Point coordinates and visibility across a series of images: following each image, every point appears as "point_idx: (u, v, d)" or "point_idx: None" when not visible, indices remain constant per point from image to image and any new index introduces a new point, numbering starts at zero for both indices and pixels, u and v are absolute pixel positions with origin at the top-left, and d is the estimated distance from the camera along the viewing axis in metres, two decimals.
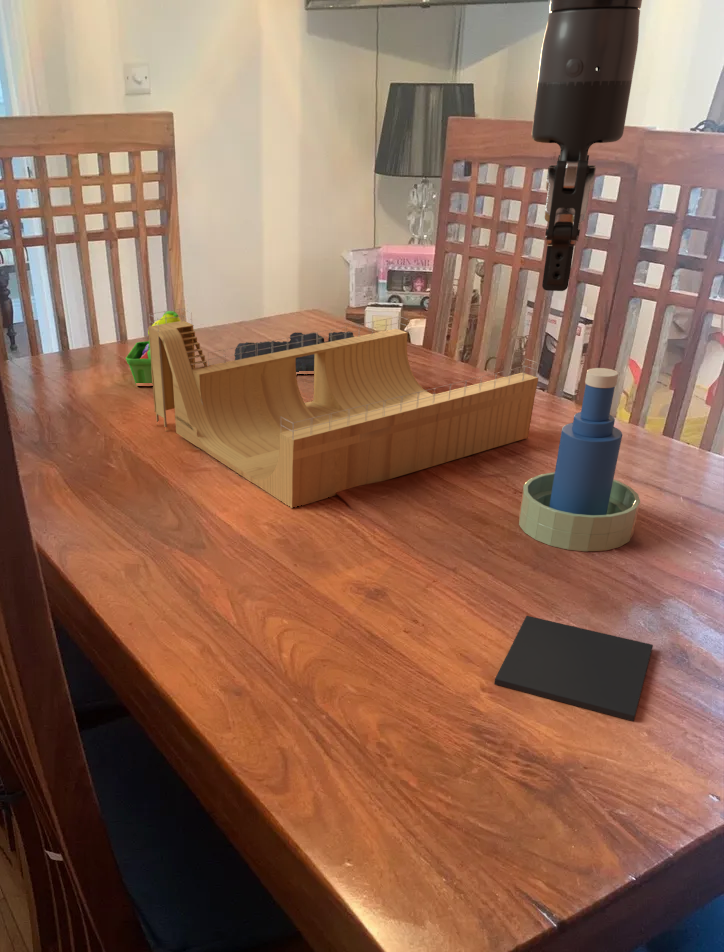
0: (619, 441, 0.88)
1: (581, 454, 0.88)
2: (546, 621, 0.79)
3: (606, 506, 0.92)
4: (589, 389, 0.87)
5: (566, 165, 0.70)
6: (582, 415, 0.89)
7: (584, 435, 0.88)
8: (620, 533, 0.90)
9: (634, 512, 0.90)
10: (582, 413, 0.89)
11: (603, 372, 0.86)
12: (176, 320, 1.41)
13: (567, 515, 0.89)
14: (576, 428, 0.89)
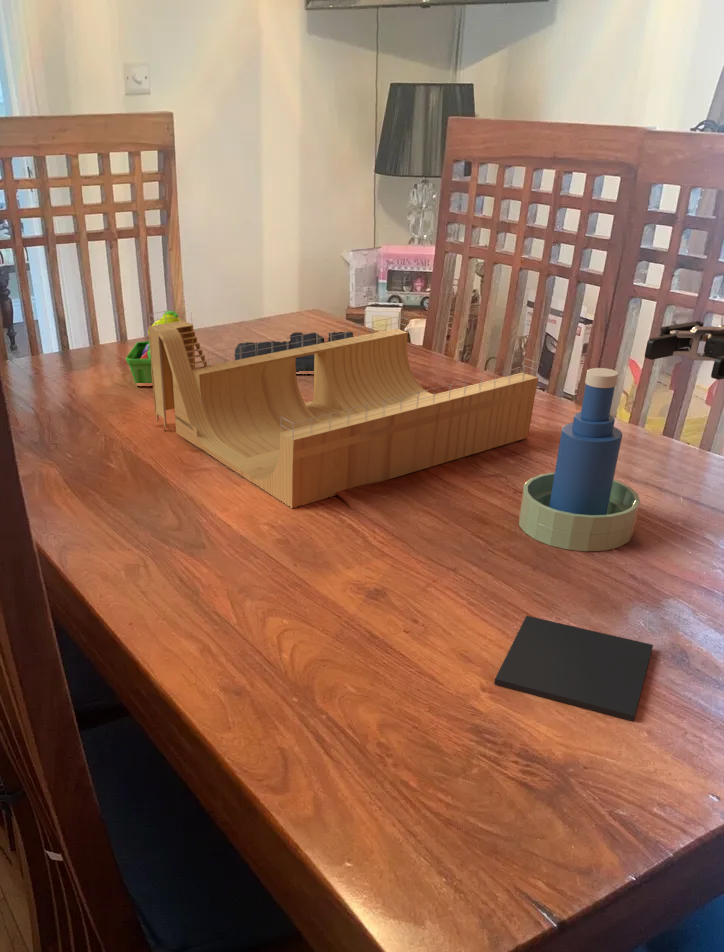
0: (619, 441, 0.88)
1: (581, 454, 0.88)
2: (546, 621, 0.79)
3: (606, 506, 0.92)
4: (589, 389, 0.87)
5: None
6: (582, 415, 0.89)
7: (584, 435, 0.88)
8: (620, 533, 0.90)
9: (634, 512, 0.90)
10: (582, 413, 0.89)
11: (603, 372, 0.86)
12: (176, 320, 1.41)
13: (567, 515, 0.89)
14: (576, 428, 0.89)
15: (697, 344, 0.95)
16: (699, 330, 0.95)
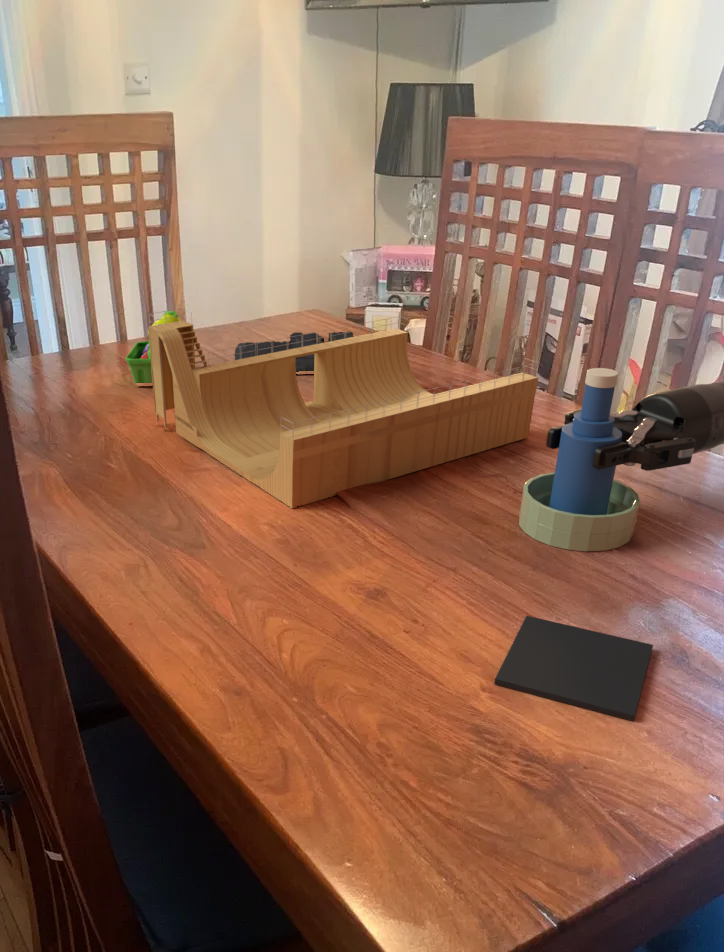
0: (619, 441, 0.88)
1: (581, 454, 0.88)
2: (546, 621, 0.79)
3: (606, 506, 0.92)
4: (590, 389, 0.87)
5: (693, 448, 0.88)
6: (582, 415, 0.89)
7: (584, 435, 0.88)
8: (620, 533, 0.90)
9: (634, 512, 0.90)
10: (582, 413, 0.89)
11: (603, 372, 0.86)
12: (176, 320, 1.41)
13: (567, 515, 0.89)
14: (576, 428, 0.89)
15: None
16: None
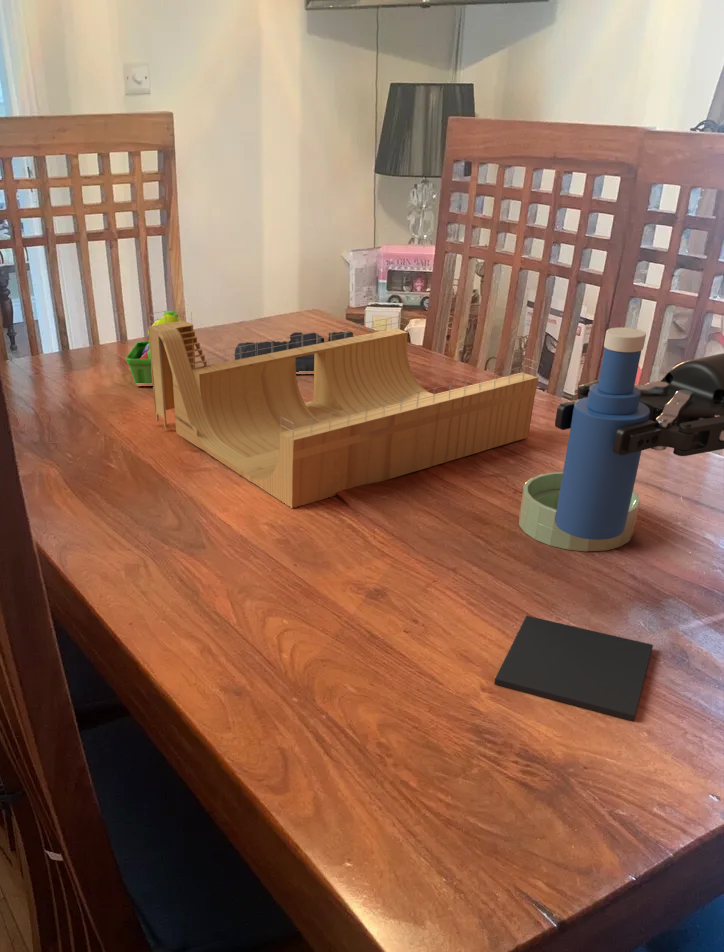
0: (646, 419, 0.71)
1: (598, 436, 0.71)
2: (546, 621, 0.79)
3: (629, 500, 0.75)
4: (610, 354, 0.69)
5: None
6: (600, 387, 0.71)
7: (602, 412, 0.71)
8: None
9: (634, 512, 0.90)
10: (600, 384, 0.71)
11: (627, 332, 0.69)
12: (176, 320, 1.41)
13: None
14: (592, 403, 0.71)
15: None
16: None
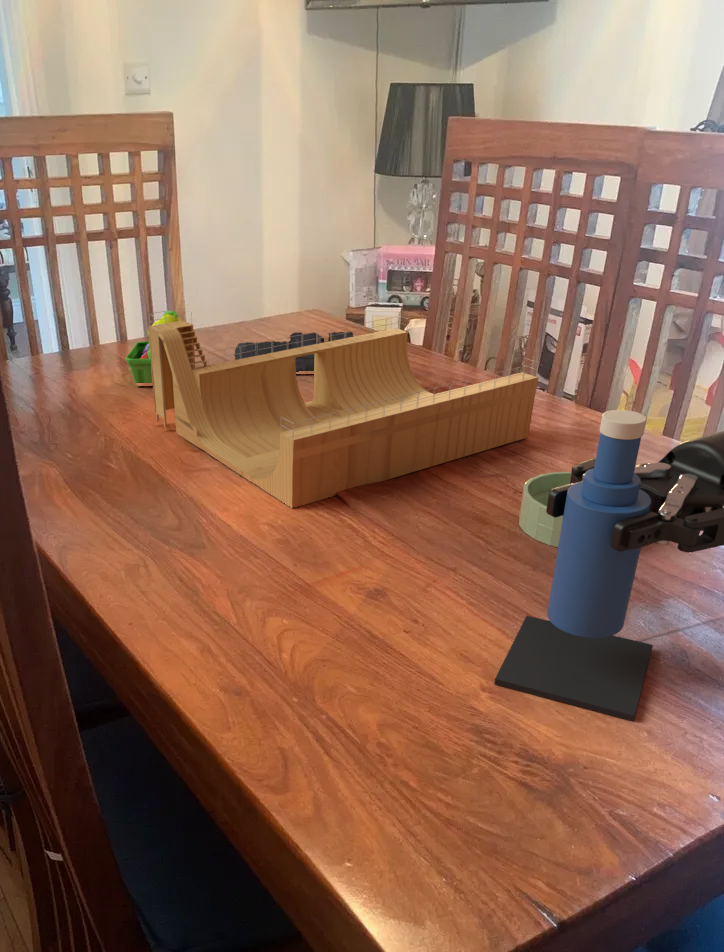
0: (647, 511, 0.64)
1: (594, 529, 0.64)
2: (546, 621, 0.79)
3: (628, 595, 0.68)
4: (606, 440, 0.62)
5: None
6: (595, 475, 0.64)
7: (598, 503, 0.64)
8: None
9: None
10: (595, 472, 0.64)
11: (625, 416, 0.62)
12: (176, 320, 1.41)
13: None
14: (587, 492, 0.64)
15: None
16: None
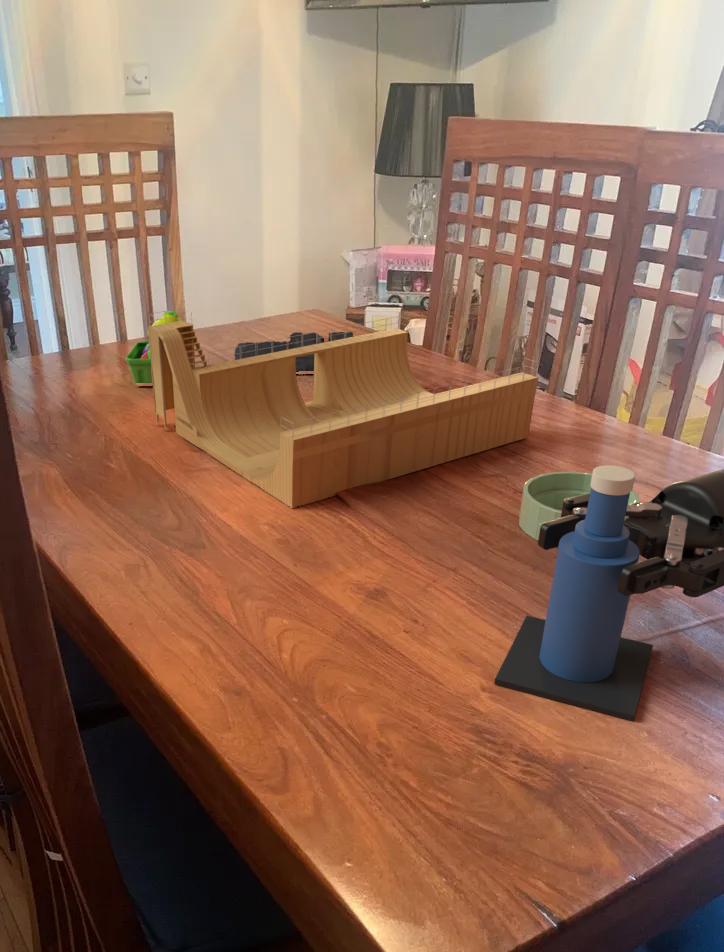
0: (636, 562, 0.66)
1: (585, 580, 0.66)
2: None
3: (618, 642, 0.70)
4: (596, 495, 0.65)
5: None
6: (586, 527, 0.66)
7: (589, 554, 0.66)
8: None
9: None
10: (586, 525, 0.66)
11: (615, 473, 0.64)
12: (176, 320, 1.41)
13: None
14: (578, 544, 0.67)
15: None
16: None
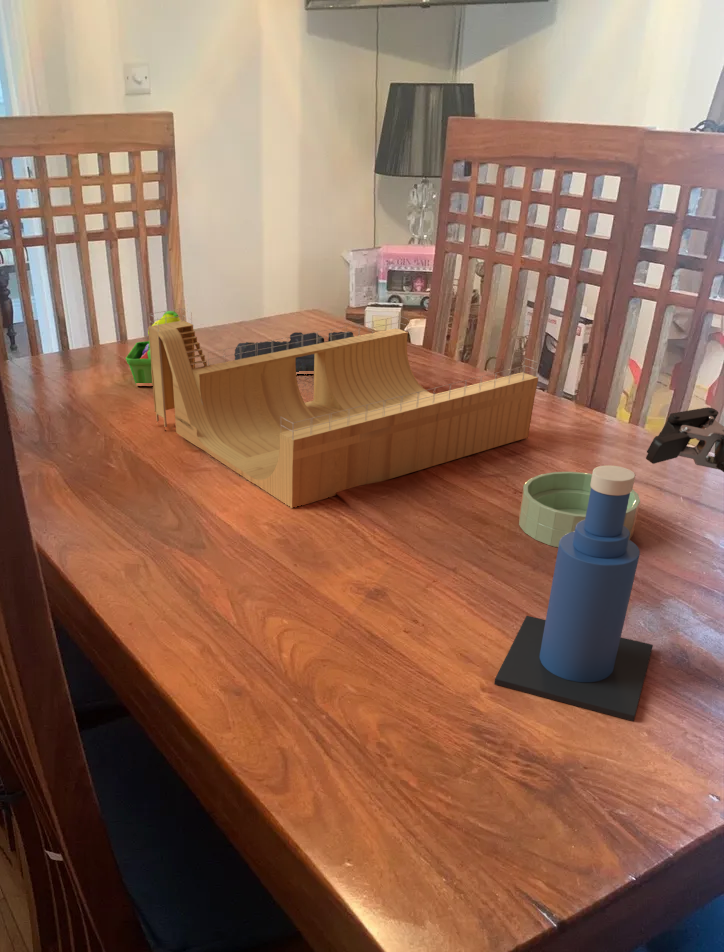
0: (636, 562, 0.66)
1: (585, 580, 0.66)
2: None
3: (618, 642, 0.70)
4: (596, 495, 0.65)
5: None
6: (586, 527, 0.66)
7: (589, 554, 0.66)
8: None
9: (634, 512, 0.90)
10: (586, 525, 0.66)
11: (615, 473, 0.64)
12: (176, 320, 1.41)
13: (567, 515, 0.89)
14: (578, 544, 0.67)
15: (709, 449, 0.75)
16: (716, 433, 0.74)
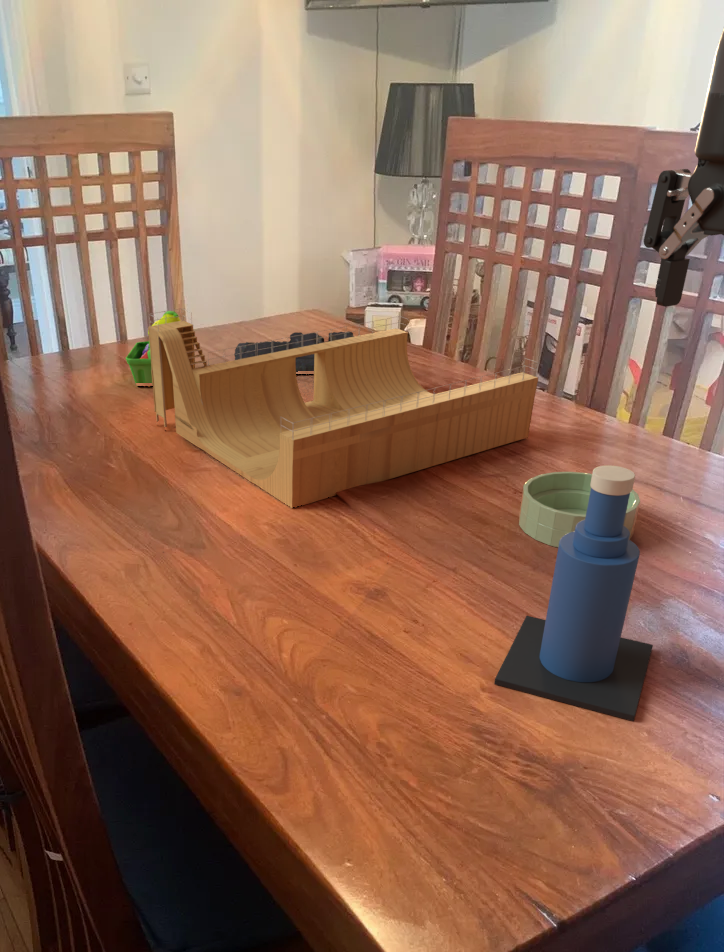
0: (636, 562, 0.66)
1: (585, 580, 0.66)
2: None
3: (618, 642, 0.70)
4: (596, 495, 0.65)
5: None
6: (586, 527, 0.66)
7: (589, 554, 0.66)
8: None
9: (634, 512, 0.90)
10: (586, 525, 0.66)
11: (615, 473, 0.64)
12: (176, 320, 1.41)
13: (567, 515, 0.89)
14: (578, 544, 0.67)
15: None
16: None
